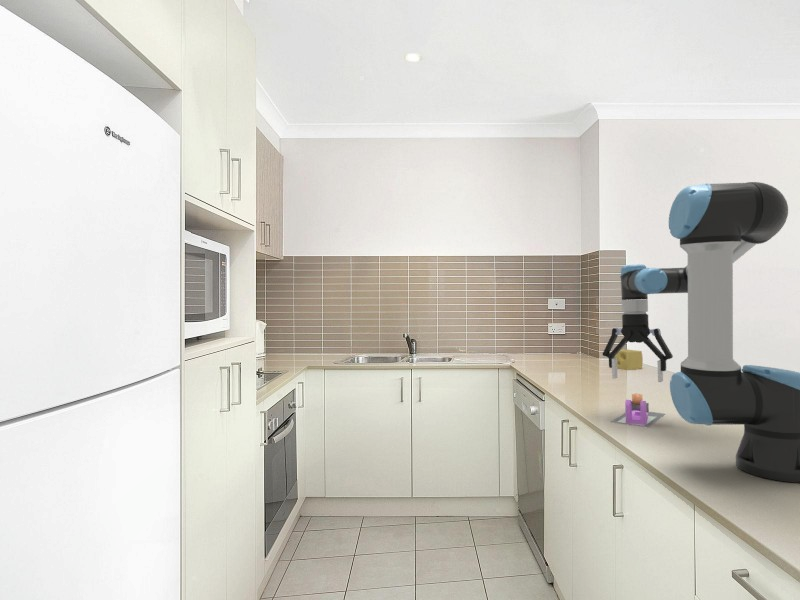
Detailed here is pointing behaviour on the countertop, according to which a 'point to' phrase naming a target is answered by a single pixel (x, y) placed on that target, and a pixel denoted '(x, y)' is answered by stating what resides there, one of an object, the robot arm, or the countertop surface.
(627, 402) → the bracket
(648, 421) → the grey flat plate
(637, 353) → the cheese
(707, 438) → the countertop surface
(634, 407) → the button housing
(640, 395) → the button
